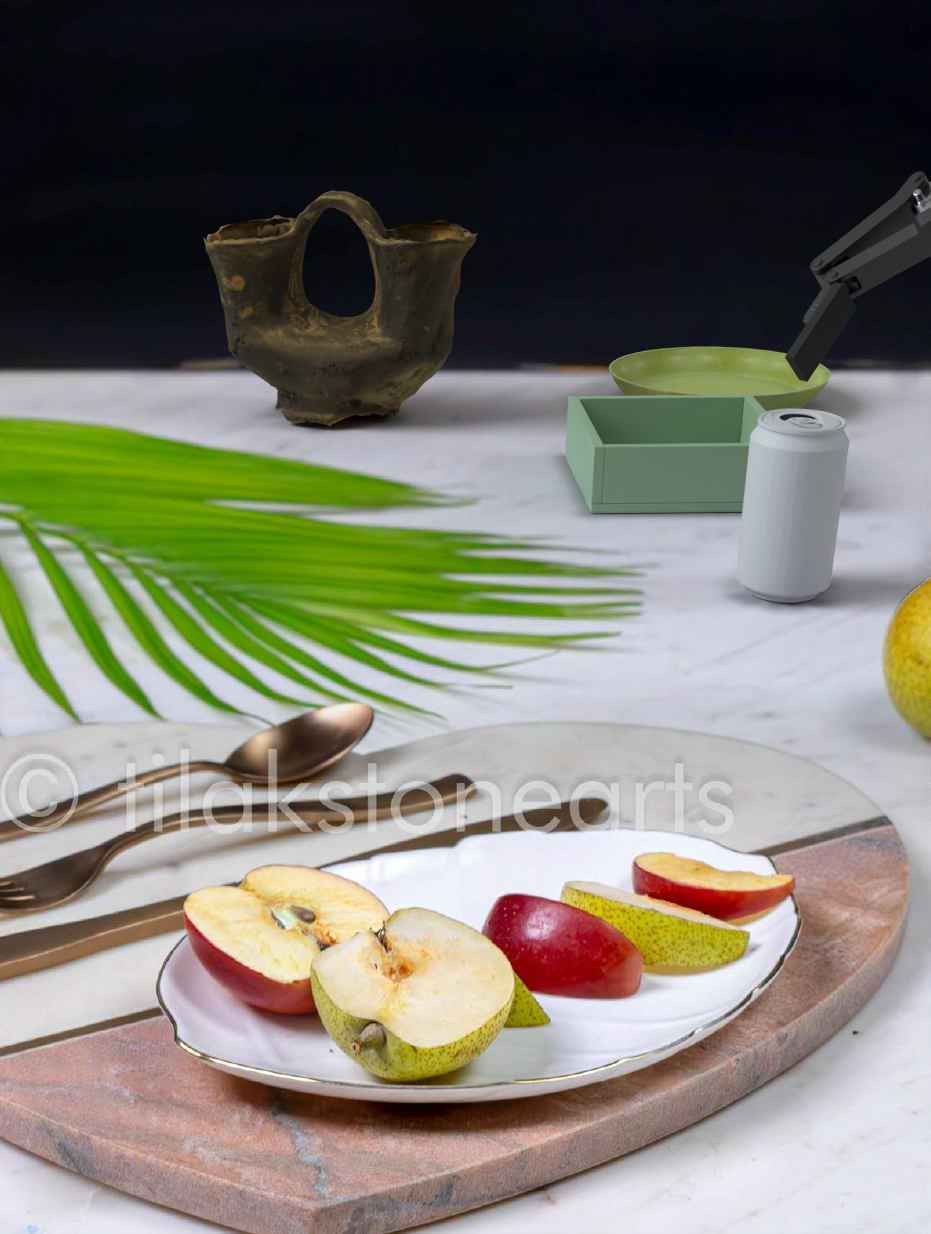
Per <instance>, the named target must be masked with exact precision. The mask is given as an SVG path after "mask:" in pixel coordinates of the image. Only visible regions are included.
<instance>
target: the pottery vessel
mask: <svg viewBox="0 0 931 1234" xmlns="http://www.w3.org/2000/svg"><path fill="white" fill-rule="evenodd" d="M329 208H333V209H336V210H337V211H340V212H342V213H344V214H346V215H348V216H349V217H350V218H351V220H352V221H353V222H354V223H355V224H356V225H357V226H358V228H359V229H360V231H361V233H362V234H363V236H364V237H365V239H366V242H367V245H368V249H369V250H368V251H369V254H370V259H371V263H372V267H373V272H374V279H375V281H374V282H375V292H374V298H373V301H372V304H371V306H370V307H369V308H368V309H367V310H366V311H365V312H363V313H361V314H359V315H356V316H339V315H334V314H330V313H328V312H325V311H323V310H321V309H319V308H317V307H315V306H314V305H313V304H311V303H310V301H309V300H308V298H307V297H306V293H305V290H304V289H305V288H304V283H303V282H304V281H303V263H304V257H305V251H306V246H307V241H308V236H309V233H310V231H312V228H313V226H314V225H315V223H316V222H317V220H319V218H320V217H321V214H322V213H323V212H324V211H326V209H329ZM477 235H478V233H472V232H470V231H469V230H467V229H465V228H463V227H462V226H460V225H459V224H458V223H453V222H452V223H451V222H448V221H445V220H434V221H433V220H431V221H417V222H414V223H413V222H412V223H408V224H401V225H399V226H397V227H394V228H392V229H388V228H386V227H385V226H384V224H383V221H382V219H381V217H380V216H379V214H378V212H377V211H376V210H375V208H374V207H372V206H371V203H370V202H369V201H367V200H365V199H363V198H362V197H361V196H357V195H355V194H354V193H351V192H348V191H336V190H330V191H326V192H324V193H322V194H321V195H319V196H318V197H317V198H316V199H315V200H314V201H312V202H310V204H309V205H308V206H306V208H305V209H304V210H303V211H302V212H300V213H299V214H298V216H297V217H296V218H293V217H287V218H286V217H283V216H281V215H277V214H276V215H274V216H273V217H272V218H266V219H254V220H248V221H240V222H234V223H229V224H226V225H222V226H220V227H219V230H217V231H216V232H215V233H210V234H207V237H206V238H205V237H204V236H203V241H204V245H205V250H204V251H206V253H207V255H208V258H209V260H210V262H211V265H212V268H213V271H214V274H215V276H216V277H215V278H216V281H217V285H218V292H219V296H220V301H221V305H222V309H223V313H224V320H225V321H224V322H225V330H226V337H227V343H228V352H229V353H231V355H232V357H233V358H234V359H236V360H237V362H238V363H240V364H241V365H242V366H244V368H245V369H247V370H248V371H250V372H251V373H253V374H254V375H255V376H256V377H259V378H260V379H262V380H263V381H264V382H265V383H267V384H268V385H269V386H270V387H272V388H275V390H277V391H276V392H277V393H276V395H277V396H276V397H277V399H276V404H275V409H276V410H277V411H279V410H280V409H282V411H281V412H280V414H282V415H283V416H284V418H285V420H286V421H287V422H289V423H295V424H303V423H304V424H305V422H309V423H312V424H313V423H316V424H321V425H326V426H327V425H328V427H330V426H331V425H333V424H336V423H338V422H340V421H342V420H344V419H346V418H349V417H352V416H361V417H362V416H363V417H364V416H370V415H373V414H374V415H375V414H376V415H379V416H381V417H383V416H386V415H387V413H388V414H389V415H390V417H392V419H395V416H397V414H399V413H400V408H401V407H402V405H403V403H404V402H406V400H407V399H409V398H410V397H412V396H414V395H416V393H417V392H418V391H419V390H420V389H421V387H422V386H423V385H424V384H425V383H426V382H427V381H429V380H430V379H432V378H433V377H434V376H435V375H436V374H437V373H438V372H439V371H440V369H441V368H442V367H443V365H444V364H445V362H446V360H447V359H448V356H449V355H450V353H451V351H452V349H453V339H454V336H455V335H454V333H455V331H454V330H455V329H454V322H455V302H456V297H457V296H458V293H459V292H460V289H461V288H460V287H461V267H462V263H463V260H464V259H465V256H466V254H467V252H468V251H469V250H471V248H472V247H473V246H474V245H475V243H476V240H477Z"/></svg>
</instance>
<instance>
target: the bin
mask: <svg viewBox="0 0 931 1234" xmlns="http://www.w3.org/2000/svg"><path fill="white" fill-rule="evenodd" d="M763 412H766V410H765V409H764V408H763V407H762V406H761V405H760V404H759V403H758V401H757V400H756V399H755V398H754V397H753V396H752V395H654V396H626V395H568V397H567V414H566V434H565V452H564V453H565V455H564V457H565V459H566V462H567V465H568V466H569V468H570V471H571V473H572V475H573V478H574V479H575V481H576V484H577V486H578V489H579V491H580V492H581V495H582V497H583V499H584V502H585V504H586V506H587V508H588V510H589V513H590V514H664V513H665V514H667V513H668V514H669V513H670V514H671V513H675V514H676V513H678V514H679V513H681V514H682V513H742V511H743V501H744V491H745V482H746V472H747V463H748V453H749V443H750V435H751V433H752V432H753V430H754V429H755V428H756V427H757V426H758V424H759V423H758V416H759V415H760V414H761V413H763Z"/></svg>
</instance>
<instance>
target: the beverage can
mask: <svg viewBox="0 0 931 1234" xmlns="http://www.w3.org/2000/svg"><path fill="white" fill-rule="evenodd" d="M758 423H759V424H758V426H757V427H756V428H755V429H754V430H753V432H752V433H751V435H750V443H749V453H748V463H747V472H746V482H745V491H744V501H743V511H742V512H741V522H740V530H739V540H738V548H737V549H738V551H737V560H736V568H735V578H736V581H737V582H738V583H739V584H740V585H741V586H742V587H743V588H745V590H746V591H747V592H748V593H749V594H751V596H754V597H756V598H758V599H762V600H766V601H769V602H774V603H775V602H776V603H786V604H791V603H792V604H795V603H796V604H797V603H803V602H808V601H811V600H814V599H815V598H816V597H817V596H818V595H819V594H821V593H823V592H825V591H826V590H828V588H829V587H830V585H831V582H832V576H833V568H834V560H835V553H836V544H837V538H838V530H839V521H840V517H841V516H840V515H841V514H840V513H841V507H842V500H843V492H844V485H845V478H846V470H847V463H848V454H849V448H850V446H849V445H850V439H849V437H848V435H847V434H846V431H845V430H844V429H845V428H846V424H847V422H846V420H845V418H843V417H842V416H840V415H837V414H835V413H832V412H827V411H823V410H818V409H808V408H800V409H776V410H770V411H766V412H763V413H761V414H760V415H759V416H758Z"/></svg>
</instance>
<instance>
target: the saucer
mask: <svg viewBox="0 0 931 1234" xmlns="http://www.w3.org/2000/svg"><path fill="white" fill-rule="evenodd" d="M786 354H787V353H785V352H780V351H773V350H766V349H757V348H749V347H748V348H747V347H746V348H745V347H733V346H730V347H729V346H728V347H727V346H680V347H679V346H678V347H667V348H656V349H649V350H644V351H639V352H634V353H630V354H627V355H623V356H620V357H618V358H616V359H615V360H613V361H612V362H611V363H610V364H609V365H608V371H609V374H610V375H611V377H612V379H613V381H614V382H615V384H616V385H617V387H618V389H619V390H620V391H621V392H622V393H623V395H624V396H654V395H752V396H753V397H754V398H755V399H756V400H757V401H758V403H759V404H760V405H761V406H762V407H763V408H764V409H765V410H766V411H770V410H776V409H802V408H803V407H805V406H806V405H807V404H809V403H810V402H811V401H812V400H814V398H816V397H817V396H818V395H819V394H820V392H821V391H822V390H823V389H824V388H825V387H826V385H827V384H828V383H829V381H830V379H831V378H832V374H831V371H830V369H829V368H827V367H826V366H824V365H823V364H821V363H820V364H819V365H818V367H817V368H816V370H815V371H814V373H813V374H812V376H811V377H810V379H809V380H808V382H805V381H801V380H799V379H798V377H797V376H796V374H795V373H794V371H793V369H792V368H791V366H790V365H789V363H788V362H787V360H786V358H785V356H786Z"/></svg>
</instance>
